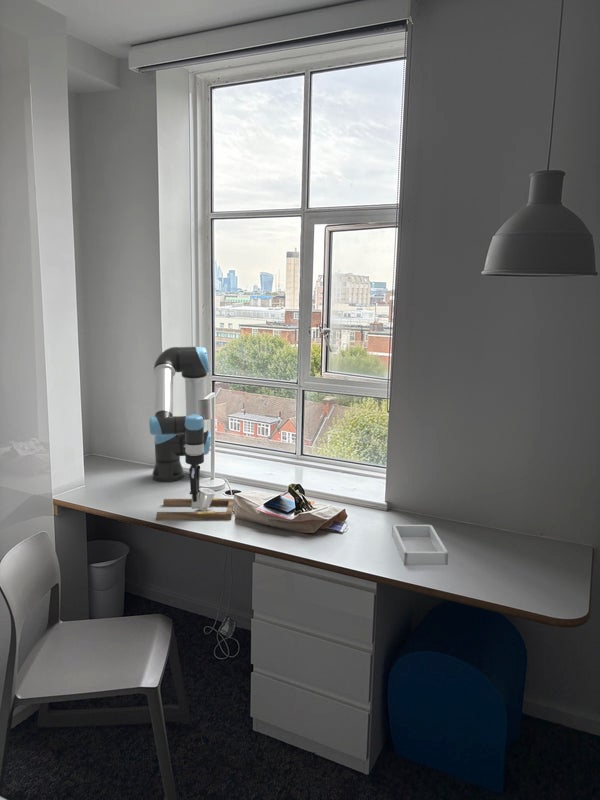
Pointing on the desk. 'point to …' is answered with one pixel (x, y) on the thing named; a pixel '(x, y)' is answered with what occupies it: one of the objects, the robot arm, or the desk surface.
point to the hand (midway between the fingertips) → (195, 508)
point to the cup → (205, 498)
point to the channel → (200, 514)
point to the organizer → (419, 557)
